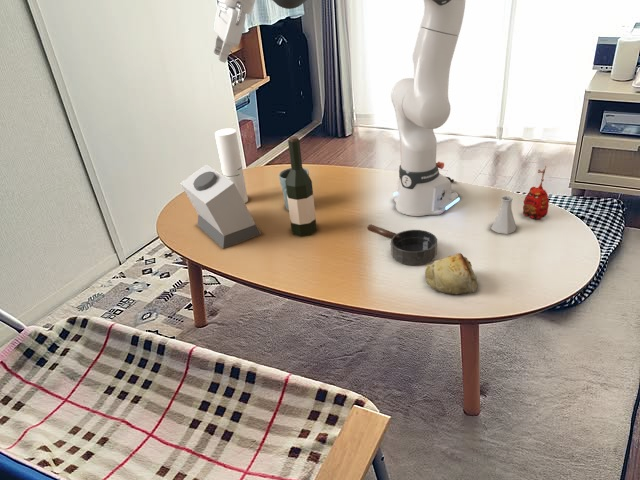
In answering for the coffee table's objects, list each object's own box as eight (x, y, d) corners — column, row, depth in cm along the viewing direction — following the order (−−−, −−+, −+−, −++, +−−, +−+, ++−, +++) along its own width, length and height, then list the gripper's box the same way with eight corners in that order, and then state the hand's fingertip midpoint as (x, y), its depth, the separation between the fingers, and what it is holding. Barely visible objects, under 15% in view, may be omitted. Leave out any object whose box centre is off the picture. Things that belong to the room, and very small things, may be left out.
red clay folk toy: (517, 215, 175) (523, 169, 166) (530, 207, 178) (536, 162, 169) (539, 223, 170) (547, 176, 161) (552, 214, 173) (560, 168, 164)
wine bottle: (314, 236, 175) (304, 142, 157) (288, 236, 177) (275, 142, 159) (319, 224, 182) (310, 132, 164) (294, 224, 184) (282, 132, 166)
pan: (410, 239, 169) (410, 225, 166) (445, 252, 161) (446, 238, 158) (381, 256, 162) (381, 243, 160) (417, 271, 154) (418, 257, 152)
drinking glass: (294, 215, 189) (290, 181, 182) (277, 206, 195) (272, 173, 188) (318, 205, 193) (314, 171, 186) (300, 196, 200) (296, 164, 193)
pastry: (488, 286, 146) (490, 259, 141) (452, 303, 141) (453, 276, 136) (450, 264, 156) (451, 238, 151) (415, 280, 151) (416, 254, 146)
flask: (520, 227, 169) (524, 196, 163) (508, 236, 165) (512, 205, 159) (498, 221, 173) (501, 190, 167) (486, 230, 169) (489, 199, 163)
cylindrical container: (252, 198, 203) (240, 129, 188) (239, 206, 198) (226, 136, 183) (236, 195, 206) (223, 127, 191) (224, 203, 201) (210, 134, 186)
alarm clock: (260, 234, 180) (250, 174, 168) (216, 251, 174) (202, 189, 162) (233, 213, 194) (221, 156, 182) (191, 227, 188) (176, 170, 176)
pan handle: (365, 230, 170) (365, 225, 169) (370, 228, 171) (370, 222, 170) (396, 242, 163) (396, 236, 162) (401, 239, 164) (401, 233, 163)
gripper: (256, 10, 131) (237, 70, 137) (241, 1, 147) (225, 55, 153) (230, -1, 128) (212, 61, 134) (217, -10, 144) (202, 46, 150)
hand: (219, 57), depth 143 cm, fingers open, 8 cm apart
